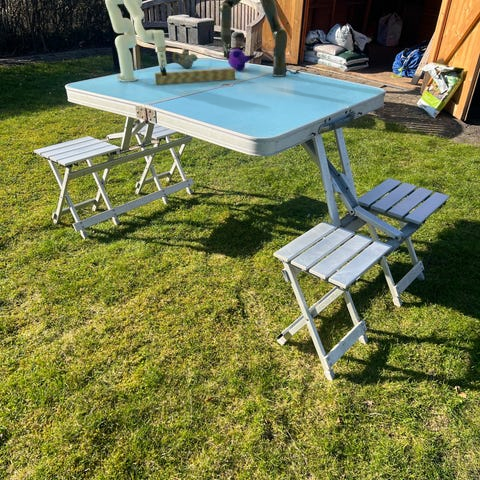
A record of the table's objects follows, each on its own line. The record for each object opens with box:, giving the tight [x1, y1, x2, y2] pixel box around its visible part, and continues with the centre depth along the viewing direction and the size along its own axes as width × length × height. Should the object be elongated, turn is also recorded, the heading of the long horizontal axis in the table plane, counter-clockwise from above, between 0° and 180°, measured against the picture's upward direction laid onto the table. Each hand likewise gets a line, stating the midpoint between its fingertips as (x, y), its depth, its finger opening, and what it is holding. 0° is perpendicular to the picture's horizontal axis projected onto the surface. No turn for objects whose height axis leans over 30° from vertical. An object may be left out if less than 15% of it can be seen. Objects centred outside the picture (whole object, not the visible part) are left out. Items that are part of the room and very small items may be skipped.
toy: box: [227, 48, 258, 72], centre depth 368 cm, size 16×18×27 cm
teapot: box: [172, 48, 198, 69], centre depth 382 cm, size 21×12×15 cm, turn 109°
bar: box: [154, 67, 236, 86], centre depth 333 cm, size 59×5×8 cm, turn 105°
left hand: (163, 74), depth 326 cm, fingers open, 9 cm apart
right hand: (226, 58), depth 332 cm, fingers open, 8 cm apart
